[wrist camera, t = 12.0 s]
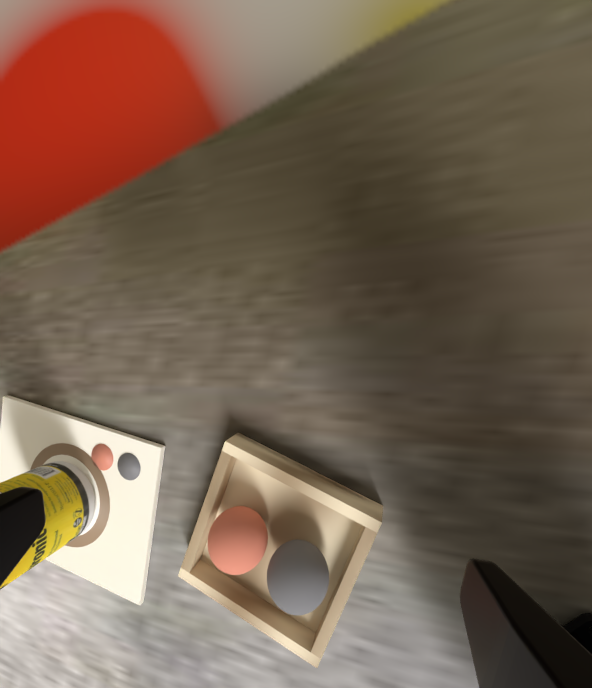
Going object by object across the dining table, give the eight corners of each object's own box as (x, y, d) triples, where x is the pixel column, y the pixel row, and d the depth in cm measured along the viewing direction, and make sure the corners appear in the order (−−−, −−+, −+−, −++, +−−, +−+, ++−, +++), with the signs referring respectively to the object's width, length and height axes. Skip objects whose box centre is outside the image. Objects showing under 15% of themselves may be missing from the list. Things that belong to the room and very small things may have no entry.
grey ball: (346, 560, 18) (336, 607, 15) (308, 594, 19) (291, 646, 16) (303, 515, 19) (285, 552, 16) (268, 550, 19) (244, 592, 16)
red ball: (287, 526, 19) (266, 564, 16) (253, 560, 20) (227, 603, 17) (247, 484, 20) (220, 513, 17) (215, 518, 20) (184, 552, 17)
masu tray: (383, 505, 18) (381, 522, 16) (323, 640, 19) (316, 668, 18) (238, 432, 20) (225, 441, 19) (193, 558, 21) (177, 576, 20)
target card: (165, 445, 22) (160, 448, 21) (143, 600, 23) (138, 606, 22) (9, 395, 25) (2, 396, 25) (-3, 530, 26) (-10, 533, 26)
